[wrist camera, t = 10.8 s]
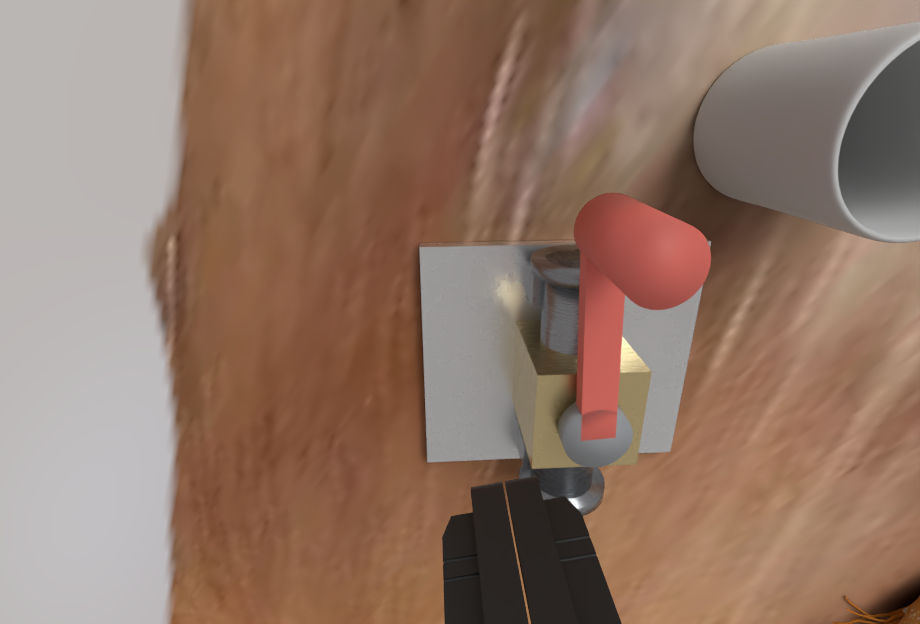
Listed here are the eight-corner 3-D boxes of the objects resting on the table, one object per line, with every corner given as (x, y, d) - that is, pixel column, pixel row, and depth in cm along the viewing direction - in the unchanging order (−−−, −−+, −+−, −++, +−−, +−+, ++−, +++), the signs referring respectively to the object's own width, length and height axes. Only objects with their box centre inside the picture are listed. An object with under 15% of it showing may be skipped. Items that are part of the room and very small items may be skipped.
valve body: (419, 242, 31) (416, 287, 23) (703, 237, 32) (786, 277, 24) (427, 453, 37) (427, 540, 29) (664, 443, 38) (721, 525, 30)
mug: (665, 172, 30) (786, 208, 20) (740, 19, 27) (927, -31, 17) (826, 235, 32) (1009, 295, 22) (911, 99, 29) (1168, 97, 19)
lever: (622, 449, 27) (678, 550, 21) (557, 455, 27) (595, 558, 21) (641, 184, 22) (726, 217, 16) (560, 191, 22) (612, 226, 15)
